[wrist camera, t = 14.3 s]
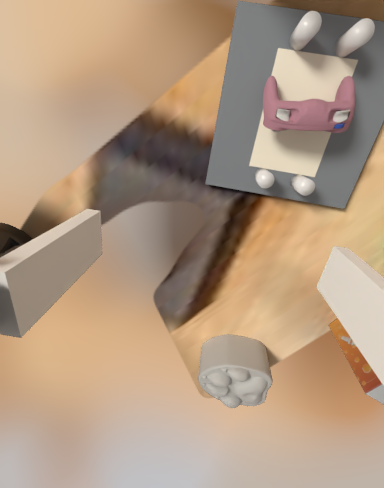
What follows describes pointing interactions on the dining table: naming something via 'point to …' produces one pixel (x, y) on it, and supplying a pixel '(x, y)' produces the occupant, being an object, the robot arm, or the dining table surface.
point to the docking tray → (297, 89)
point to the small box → (358, 362)
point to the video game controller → (309, 110)
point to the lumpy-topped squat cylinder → (235, 370)
